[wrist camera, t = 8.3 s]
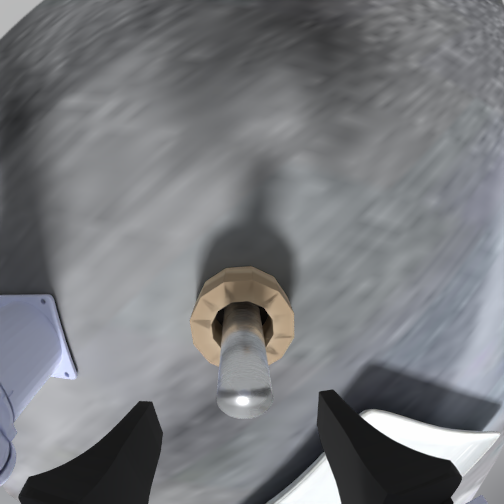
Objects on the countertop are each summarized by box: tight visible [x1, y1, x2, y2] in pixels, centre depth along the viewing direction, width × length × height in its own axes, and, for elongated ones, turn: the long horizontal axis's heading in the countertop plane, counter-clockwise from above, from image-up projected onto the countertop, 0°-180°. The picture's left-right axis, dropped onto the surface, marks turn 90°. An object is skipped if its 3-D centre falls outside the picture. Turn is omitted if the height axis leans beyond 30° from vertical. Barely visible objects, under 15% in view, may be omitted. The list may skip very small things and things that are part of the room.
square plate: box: [266, 409, 500, 504], centre depth 27 cm, size 27×27×4 cm
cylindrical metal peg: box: [216, 301, 273, 419], centre depth 17 cm, size 2×2×10 cm
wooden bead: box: [190, 266, 294, 366], centre depth 20 cm, size 6×6×3 cm
